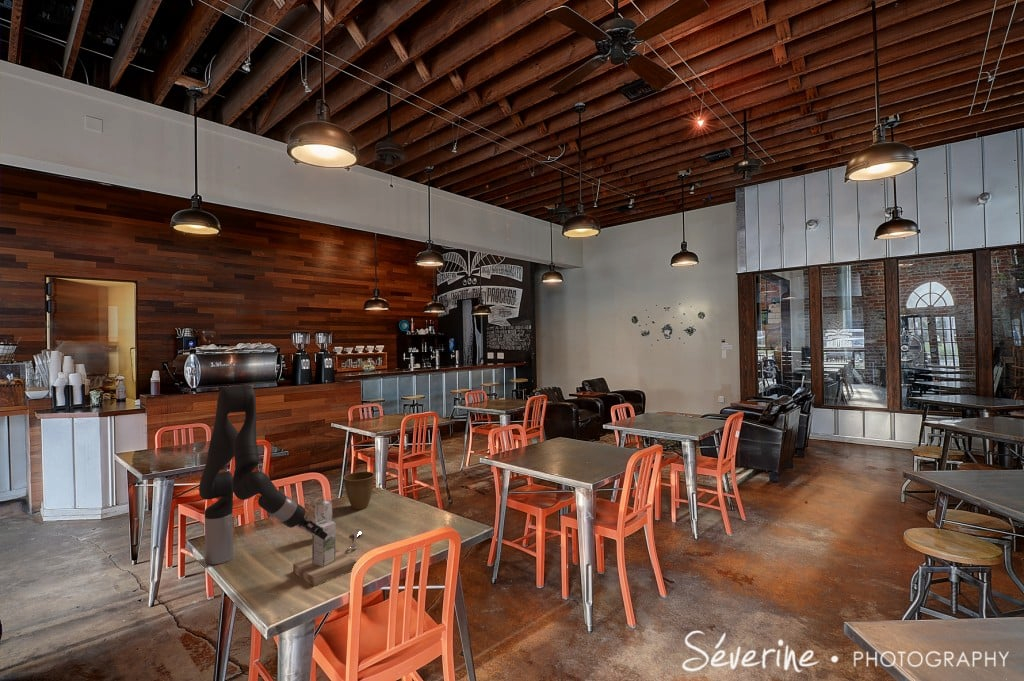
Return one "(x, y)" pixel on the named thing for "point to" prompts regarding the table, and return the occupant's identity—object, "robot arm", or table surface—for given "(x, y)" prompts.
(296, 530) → the table surface
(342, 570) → the maple board
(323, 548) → the syrup box
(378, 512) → the table surface
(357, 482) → the plant pot
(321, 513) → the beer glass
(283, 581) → the table surface
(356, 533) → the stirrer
